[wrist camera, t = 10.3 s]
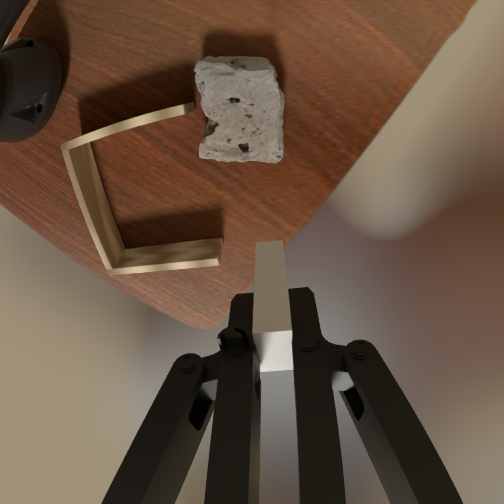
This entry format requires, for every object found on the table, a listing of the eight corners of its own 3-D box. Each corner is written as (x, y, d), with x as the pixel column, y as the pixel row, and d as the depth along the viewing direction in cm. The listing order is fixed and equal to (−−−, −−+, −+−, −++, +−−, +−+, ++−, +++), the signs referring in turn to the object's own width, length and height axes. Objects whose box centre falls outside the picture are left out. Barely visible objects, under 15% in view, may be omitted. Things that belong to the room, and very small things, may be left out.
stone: (210, 174, 33) (293, 155, 32) (202, 185, 28) (301, 163, 27) (183, 71, 28) (268, 50, 27) (169, 63, 22) (271, 37, 21)
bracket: (122, 255, 41) (109, 275, 37) (81, 135, 31) (60, 144, 26) (223, 243, 39) (218, 265, 35) (194, 101, 29) (182, 104, 25)
